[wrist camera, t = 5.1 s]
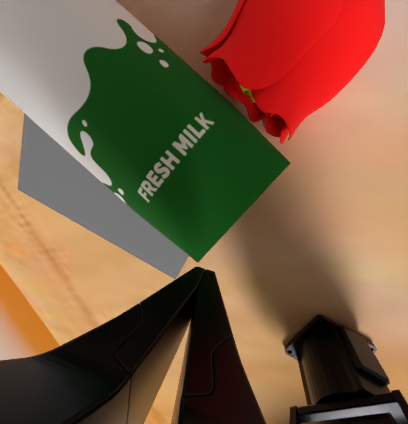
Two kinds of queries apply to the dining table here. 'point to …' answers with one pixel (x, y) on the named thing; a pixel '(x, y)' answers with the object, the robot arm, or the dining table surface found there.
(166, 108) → the soya milk
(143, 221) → the mat
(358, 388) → the robot arm
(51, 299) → the dining table surface
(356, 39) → the flower
